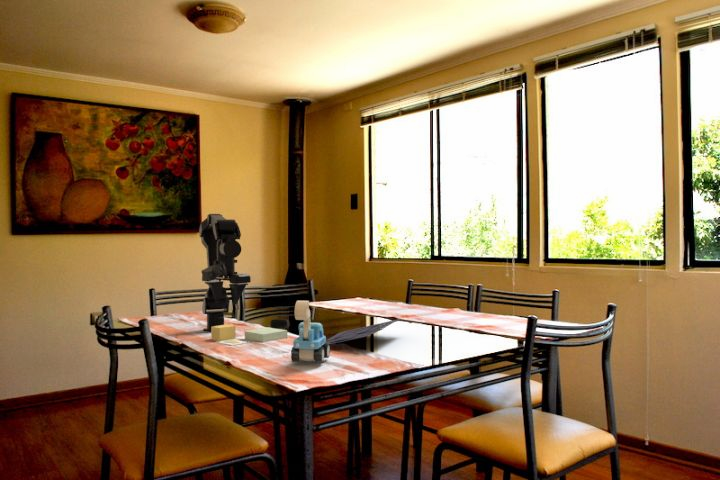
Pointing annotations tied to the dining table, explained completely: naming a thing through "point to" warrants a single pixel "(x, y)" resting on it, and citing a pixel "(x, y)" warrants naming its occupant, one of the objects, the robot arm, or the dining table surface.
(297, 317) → the toy excavator
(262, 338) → the base brick
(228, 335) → the top brick
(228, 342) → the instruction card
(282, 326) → the tape measure
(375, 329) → the dark grey flat panel
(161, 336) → the dining table surface
